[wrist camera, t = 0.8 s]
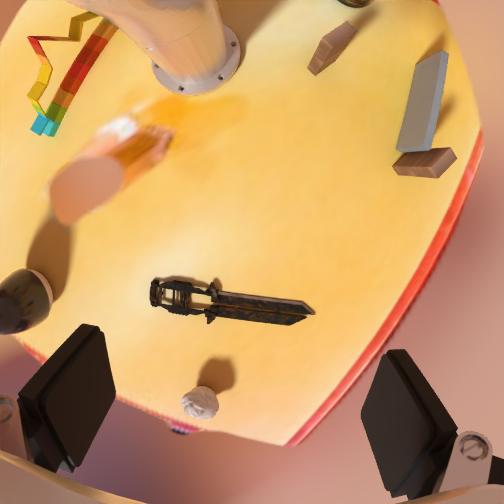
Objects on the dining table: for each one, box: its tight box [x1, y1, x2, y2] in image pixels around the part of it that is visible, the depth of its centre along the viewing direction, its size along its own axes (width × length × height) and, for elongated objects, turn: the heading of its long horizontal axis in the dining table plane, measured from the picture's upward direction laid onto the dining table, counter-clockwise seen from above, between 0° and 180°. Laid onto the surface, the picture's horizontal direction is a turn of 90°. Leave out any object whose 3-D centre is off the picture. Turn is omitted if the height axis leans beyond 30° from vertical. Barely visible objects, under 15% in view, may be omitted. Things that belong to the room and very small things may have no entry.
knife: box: [150, 280, 315, 326], centre depth 45 cm, size 25×6×1 cm, turn 77°
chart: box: [27, 11, 118, 137], centre depth 28 cm, size 30×3×15 cm, turn 147°
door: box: [396, 50, 449, 152], centre depth 32 cm, size 15×2×8 cm, turn 163°
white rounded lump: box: [181, 386, 219, 419], centre depth 46 cm, size 6×7×7 cm
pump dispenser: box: [0, 269, 53, 335], centre depth 38 cm, size 10×10×15 cm
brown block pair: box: [308, 21, 457, 178], centre depth 32 cm, size 20×4×11 cm, turn 43°
